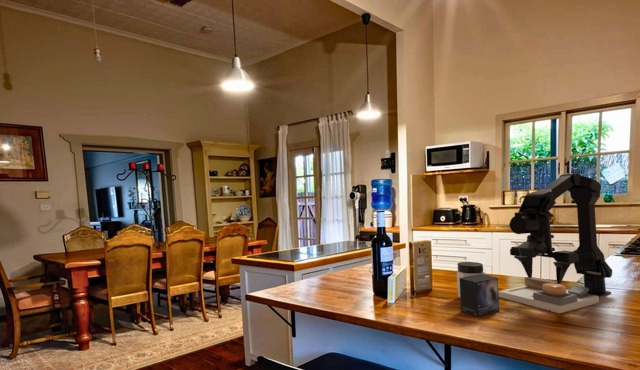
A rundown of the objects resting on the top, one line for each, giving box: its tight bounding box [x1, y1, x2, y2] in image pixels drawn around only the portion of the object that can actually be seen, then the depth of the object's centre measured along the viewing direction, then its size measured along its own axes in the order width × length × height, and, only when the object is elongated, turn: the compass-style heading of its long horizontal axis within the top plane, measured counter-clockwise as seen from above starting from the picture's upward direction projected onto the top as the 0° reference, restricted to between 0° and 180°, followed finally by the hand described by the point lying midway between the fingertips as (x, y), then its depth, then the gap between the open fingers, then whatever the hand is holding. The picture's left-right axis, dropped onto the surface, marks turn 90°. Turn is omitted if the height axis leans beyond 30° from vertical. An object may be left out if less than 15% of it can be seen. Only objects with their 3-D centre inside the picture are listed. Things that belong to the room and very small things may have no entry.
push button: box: [542, 283, 567, 295], centre depth 104 cm, size 6×6×2 cm
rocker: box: [567, 285, 589, 296], centre depth 108 cm, size 5×4×1 cm
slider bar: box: [524, 276, 558, 290], centre depth 116 cm, size 3×10×3 cm, turn 24°
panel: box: [498, 285, 600, 314], centre depth 111 cm, size 20×20×4 cm
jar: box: [456, 261, 486, 299], centre depth 116 cm, size 9×8×12 cm
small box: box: [459, 273, 501, 318], centre depth 103 cm, size 11×6×10 cm, turn 117°
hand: (544, 280), depth 107 cm, fingers open, 9 cm apart
